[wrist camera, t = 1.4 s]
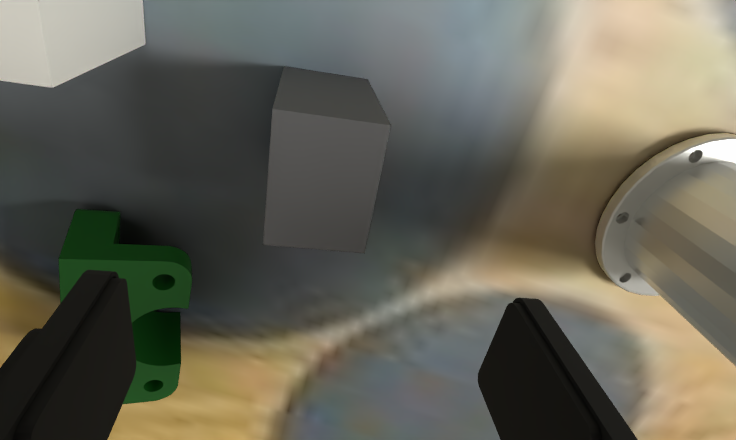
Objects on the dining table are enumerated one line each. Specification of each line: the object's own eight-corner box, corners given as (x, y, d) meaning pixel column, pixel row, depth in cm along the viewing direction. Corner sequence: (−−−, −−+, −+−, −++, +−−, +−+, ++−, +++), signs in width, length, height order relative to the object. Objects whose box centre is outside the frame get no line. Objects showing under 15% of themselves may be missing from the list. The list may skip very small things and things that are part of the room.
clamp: (178, 284, 34) (173, 405, 29) (88, 284, 32) (68, 417, 27) (195, 192, 26) (193, 342, 21) (74, 181, 23) (39, 350, 18)
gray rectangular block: (367, 79, 24) (391, 125, 17) (350, 178, 26) (364, 253, 20) (283, 66, 23) (272, 108, 16) (275, 170, 26) (262, 244, 19)
